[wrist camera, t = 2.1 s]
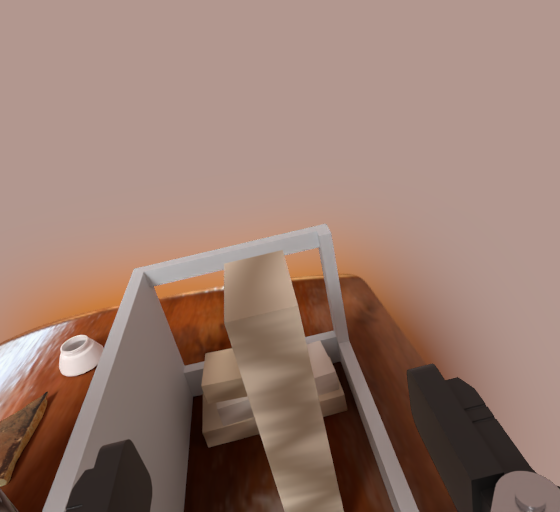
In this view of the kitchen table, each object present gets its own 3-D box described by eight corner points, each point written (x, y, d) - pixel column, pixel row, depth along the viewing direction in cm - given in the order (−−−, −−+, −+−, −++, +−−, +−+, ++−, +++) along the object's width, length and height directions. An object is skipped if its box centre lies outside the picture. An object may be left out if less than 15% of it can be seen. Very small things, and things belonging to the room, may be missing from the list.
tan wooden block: (296, 547, 29) (224, 322, 21) (284, 467, 34) (223, 263, 26) (349, 534, 29) (297, 305, 21) (329, 456, 34) (282, 249, 26)
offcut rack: (152, 678, 25) (37, 523, 18) (183, 391, 44) (133, 268, 38) (447, 606, 25) (435, 428, 18) (348, 352, 44) (326, 223, 38)
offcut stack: (209, 449, 38) (188, 397, 35) (208, 404, 42) (190, 355, 40) (347, 412, 38) (337, 357, 35) (332, 371, 43) (322, 320, 40)
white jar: (91, 378, 49) (114, 348, 54) (80, 357, 48) (104, 328, 52) (53, 379, 51) (78, 349, 55) (41, 359, 49) (68, 330, 54)
